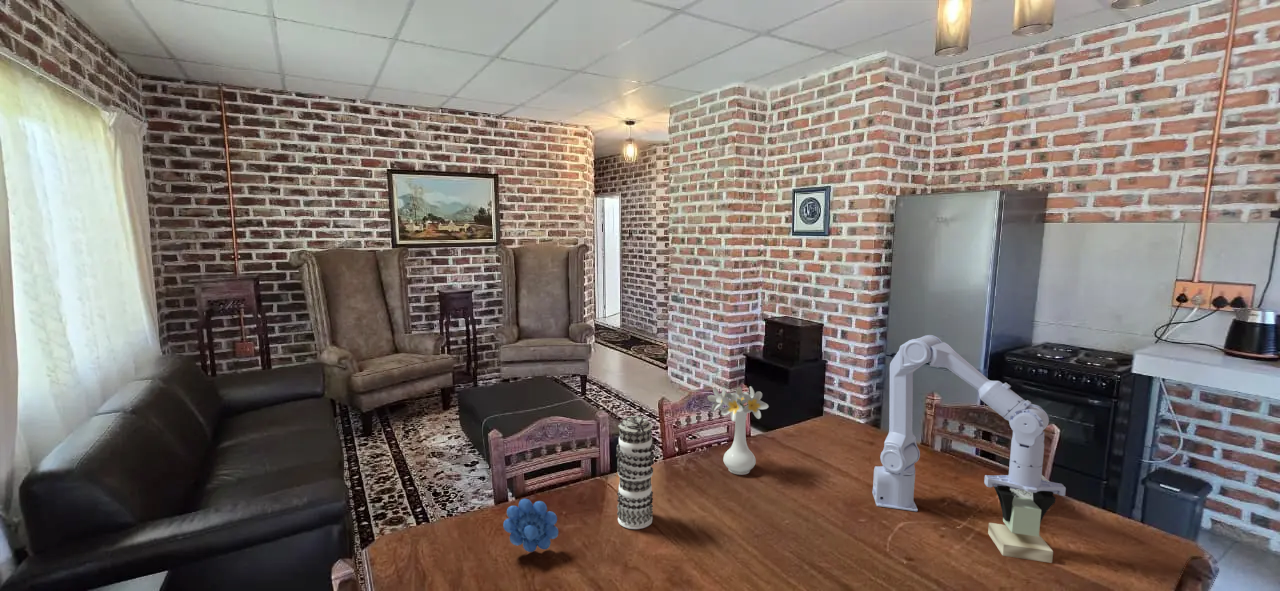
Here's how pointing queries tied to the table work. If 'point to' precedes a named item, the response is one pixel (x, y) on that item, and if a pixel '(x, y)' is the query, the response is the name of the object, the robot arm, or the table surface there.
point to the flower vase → (738, 425)
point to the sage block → (1024, 517)
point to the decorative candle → (635, 473)
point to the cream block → (1019, 544)
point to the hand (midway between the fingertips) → (1020, 521)
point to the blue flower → (531, 525)
